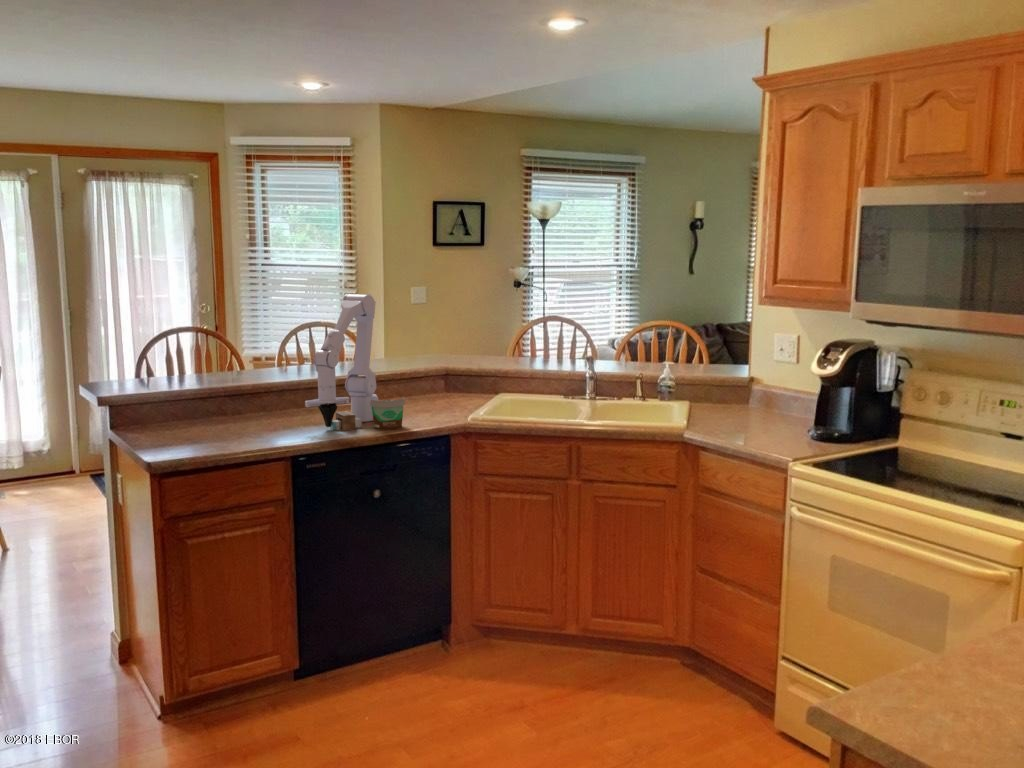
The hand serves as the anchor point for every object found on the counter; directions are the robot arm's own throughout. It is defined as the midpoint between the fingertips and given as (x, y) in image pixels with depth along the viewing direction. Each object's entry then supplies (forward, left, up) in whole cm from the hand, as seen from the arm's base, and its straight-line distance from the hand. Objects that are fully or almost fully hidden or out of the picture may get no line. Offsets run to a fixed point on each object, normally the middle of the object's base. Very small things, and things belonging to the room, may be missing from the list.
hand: (328, 426), depth 289 cm
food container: (-19, +9, -1) cm, 21 cm away
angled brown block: (-6, 0, -1) cm, 6 cm away
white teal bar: (-6, 0, -1) cm, 6 cm away
